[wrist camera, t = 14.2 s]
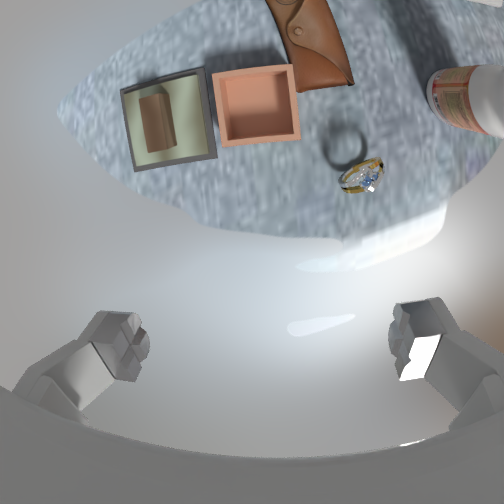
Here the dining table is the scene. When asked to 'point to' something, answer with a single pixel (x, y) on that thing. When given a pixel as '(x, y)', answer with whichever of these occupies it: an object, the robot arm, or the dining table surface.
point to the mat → (206, 114)
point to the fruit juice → (469, 98)
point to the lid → (167, 121)
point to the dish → (257, 105)
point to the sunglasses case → (312, 43)
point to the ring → (369, 177)
